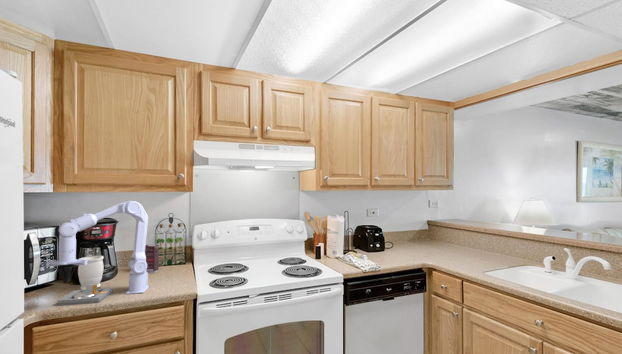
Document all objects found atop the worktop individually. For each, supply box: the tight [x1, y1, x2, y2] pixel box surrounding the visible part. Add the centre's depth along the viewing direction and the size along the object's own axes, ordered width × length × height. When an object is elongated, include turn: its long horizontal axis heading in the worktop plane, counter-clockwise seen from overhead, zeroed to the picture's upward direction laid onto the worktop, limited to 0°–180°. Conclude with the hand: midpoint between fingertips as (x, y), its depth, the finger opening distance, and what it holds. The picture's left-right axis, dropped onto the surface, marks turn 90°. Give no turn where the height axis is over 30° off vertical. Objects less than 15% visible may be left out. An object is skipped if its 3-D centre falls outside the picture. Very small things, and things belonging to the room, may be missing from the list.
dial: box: [74, 284, 99, 298], centre depth 136 cm, size 9×9×5 cm
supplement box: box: [145, 244, 160, 274], centre depth 178 cm, size 9×5×16 cm, turn 86°
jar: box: [77, 255, 105, 290], centre depth 151 cm, size 11×10×15 cm
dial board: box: [56, 287, 113, 307], centre depth 136 cm, size 13×16×2 cm
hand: (66, 282), depth 128 cm, fingers closed
